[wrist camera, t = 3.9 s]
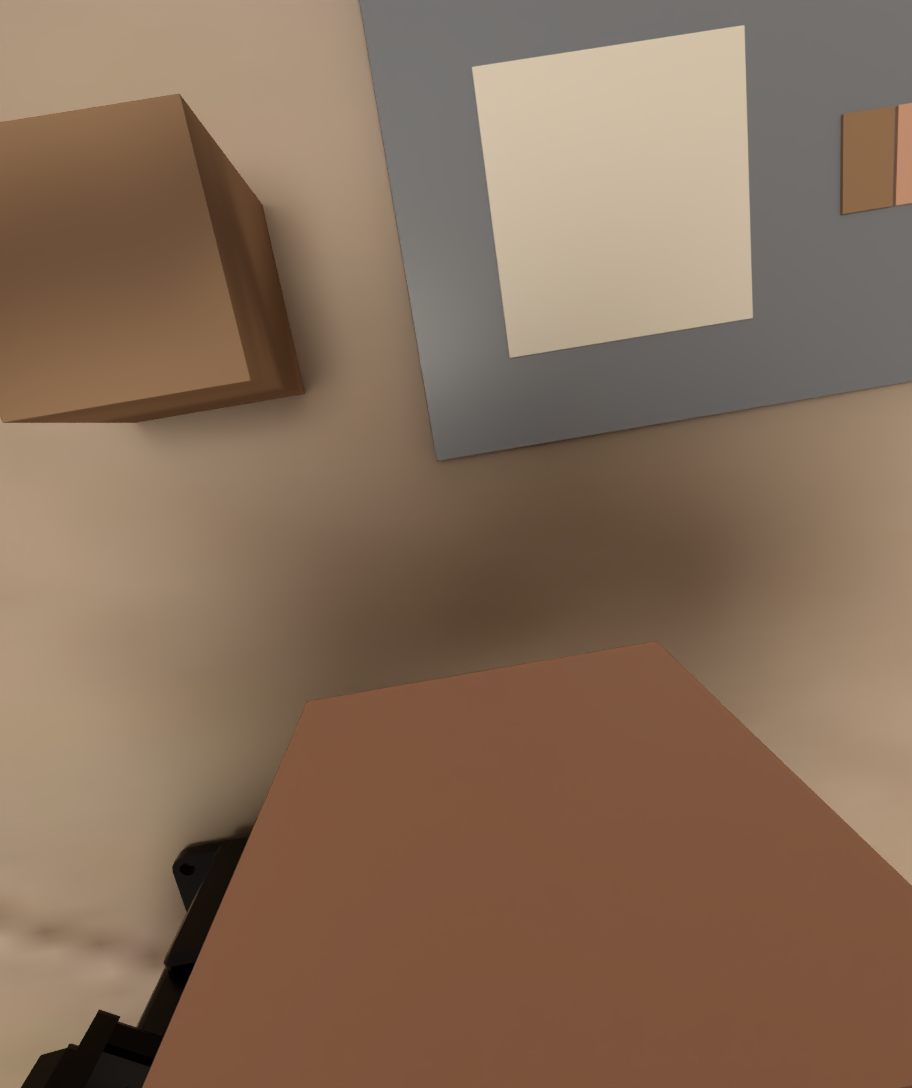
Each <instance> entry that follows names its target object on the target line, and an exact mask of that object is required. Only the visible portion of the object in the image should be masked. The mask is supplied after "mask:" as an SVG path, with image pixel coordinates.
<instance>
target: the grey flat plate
mask: <svg viewBox="0 0 912 1088" xmlns="http://www.w3.org/2000/svg"><path fill="white" fill-rule="evenodd" d="M359 2H360V8H361V14H362V20H363V26H364V31H365V37H366V43H367V49H368V55H369V61H370V67H371V73H372V79H373V85H374V91H375V97H376V103H377V109H378V115H379V121H380V126H381V132H382V138H383V144H384V150H385V156H386V162H387V168H388V174H389V180H390V186H391V192H392V198H393V204H394V210H395V216H396V221H397V227H398V233H399V239H400V245H401V251H402V257H403V263H404V269H405V275H406V281H407V287H408V293H409V299H410V305H411V310H412V316H413V322H414V328H415V334H416V340H417V346H418V352H419V358H420V364H421V370H422V376H423V382H424V388H425V394H426V400H427V405H428V411H429V417H430V423H431V429H432V435H433V441H434V447H435V453H436V459H437V461H440V460H446V459H452V458H458V457H464V456H470V455H476V454H482V453H488V452H494V451H500V450H506V449H512V448H518V447H523V446H529V445H535V444H541V443H547V442H553V441H559V440H565V439H571V438H577V437H583V436H589V435H595V434H601V433H607V432H613V431H619V430H625V429H631V428H637V427H643V426H649V425H655V424H661V423H667V422H673V421H679V420H685V419H691V418H697V417H703V416H709V415H715V414H721V413H726V412H732V411H738V410H744V409H750V408H756V407H762V406H768V405H774V404H780V403H786V402H792V401H798V400H804V399H810V398H816V397H822V396H828V395H834V394H840V393H846V392H852V391H858V390H864V389H870V388H876V387H882V386H888V385H894V384H900V383H906V382H912V0H359Z"/></svg>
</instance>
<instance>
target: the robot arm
mask: <svg viewBox="0 0 912 1088" xmlns="http://www.w3.org/2000/svg"><path fill="white" fill-rule="evenodd" d="M248 839H249V837H248V838H242V839H236V840H231V841H225V842H220V843H214V844H209V845H203V846H197V847H192V848H187V849H185V850H183V851H182V852H181V853H180V854H179V855H178V857H177V859H176V860H175V862H174V864H173V867H172V868H173V874H174V877H175V880H176V882H177V885H178V888H179V891H180V894H181V897H182V900H183V903H184V906H185V909H186V911H187V914H186V916H185V918H184V920H183V922H182V924H181V926H180V928H179V930H178V932H177V934H176V936H175V938H174V940H173V942H172V944H171V946H170V948H169V950H168V952H167V954H166V956H165V960H164V965H165V968H164V971H163V973H162V975H161V977H160V979H159V981H158V983H157V985H156V987H155V989H154V991H153V993H152V996H151V998H150V1000H149V1002H148V1004H147V1006H146V1008H145V1010H144V1012H143V1014H142V1016H141V1018H140V1021H139V1023H138V1025H137V1027H133V1026H130V1025H127V1024H124V1023H122V1022H119V1021H118V1020H119V1018H120V1016H117V1015H114V1014H111V1013H108V1012H105V1011H102V1010H99V1011H98V1013H97V1014H96V1016H95V1018H94V1020H93V1021H92V1023H91V1025H90V1027H89V1029H88V1030H87V1032H86V1034H85V1036H84V1037H83V1039H82V1041H81V1043H80V1044H79V1046H78V1045H75V1044H72V1043H71V1044H69V1045H68V1047H67V1048H65V1049H61V1050H58V1051H54V1052H50V1053H47V1054H43V1055H41V1056H40V1057H39V1059H38V1061H37V1062H36V1064H35V1065H34V1067H33V1069H32V1070H31V1072H30V1074H29V1075H28V1077H27V1079H26V1080H25V1082H24V1084H23V1085H22V1087H21V1088H142V1087H143V1084H144V1082H145V1080H146V1077H147V1075H148V1073H149V1070H150V1068H151V1066H152V1063H153V1061H154V1059H155V1056H156V1054H157V1052H158V1049H159V1047H160V1045H161V1042H162V1040H163V1038H164V1035H165V1033H166V1031H167V1028H168V1026H169V1024H170V1021H171V1019H172V1017H173V1014H174V1012H175V1010H176V1007H177V1005H178V1003H179V1000H180V998H181V996H182V993H183V991H184V989H185V986H186V984H187V982H188V979H189V977H190V975H191V972H192V970H193V968H194V965H195V963H196V961H197V958H198V956H199V954H200V951H201V949H202V947H203V944H204V942H205V940H206V937H207V935H208V933H209V930H210V928H211V926H212V923H213V921H214V919H215V916H216V914H217V912H218V909H219V907H220V905H221V902H222V900H223V897H224V895H225V893H226V890H227V888H228V886H229V883H230V881H231V879H232V876H233V874H234V872H235V869H236V867H237V865H238V862H239V860H240V858H241V855H242V853H243V851H244V848H245V846H246V844H247V841H248ZM187 863H190V864H192V865H193V866H190V865H188V864H187Z"/></svg>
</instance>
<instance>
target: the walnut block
mask: <svg viewBox="0 0 912 1088" xmlns="http://www.w3.org/2000/svg"><path fill="white" fill-rule="evenodd" d="M299 394H305V392H304V388H303V384H302V379H301V375H300V370H299V366H298V361H297V357H296V352H295V348H294V344H293V339H292V335H291V330H290V326H289V321H288V317H287V313H286V308H285V304H284V299H283V295H282V290H281V286H280V282H279V277H278V273H277V268H276V264H275V259H274V255H273V251H272V246H271V242H270V237H269V233H268V228H267V224H266V220H265V215H264V211H263V206H262V204H261V202H260V201H259V200H258V198H257V197H256V196H255V194H254V193H253V192H252V190H251V189H250V188H249V186H248V185H247V184H246V182H245V181H244V180H243V178H242V177H241V176H240V174H239V173H238V172H237V170H236V169H235V168H234V166H233V165H232V164H231V162H230V161H229V159H228V158H227V157H226V155H225V154H224V153H223V151H222V150H221V149H220V147H219V146H218V145H217V143H216V142H215V141H214V139H213V138H212V137H211V135H210V134H209V133H208V131H207V130H206V129H205V127H204V126H203V125H202V123H201V122H200V121H199V119H198V118H197V117H196V115H195V114H194V113H193V111H192V110H191V109H190V107H189V106H188V105H187V103H186V102H185V101H184V99H183V98H182V97H181V95H180V94H174V95H168V96H162V97H156V98H149V99H143V100H137V101H131V102H124V103H118V104H112V105H106V106H99V107H93V108H87V109H81V110H74V111H68V112H62V113H56V114H49V115H43V116H37V117H31V118H24V119H18V120H12V121H6V122H0V416H1V419H2V422H3V423H135V422H141V421H147V420H153V419H159V418H164V417H170V416H176V415H182V414H188V413H194V412H199V411H205V410H211V409H217V408H223V407H229V406H235V405H240V404H246V403H252V402H258V401H264V400H270V399H276V398H281V397H287V396H293V395H299Z"/></svg>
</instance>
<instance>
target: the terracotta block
mask: <svg viewBox="0 0 912 1088" xmlns="http://www.w3.org/2000/svg"><path fill="white" fill-rule="evenodd" d="M142 1088H912V886H911V885H910V884H909V883H908V882H907V881H906V880H905V879H904V878H903V877H902V876H901V875H900V874H899V873H898V872H897V871H896V870H895V869H894V868H893V867H892V866H891V865H890V864H888V863H887V862H886V861H885V860H884V859H883V858H882V857H881V856H880V855H879V854H878V853H877V852H876V851H875V850H874V849H873V848H872V847H871V846H870V845H869V844H868V843H867V842H866V841H864V840H863V839H862V838H861V837H860V836H859V835H858V834H857V833H856V832H855V831H854V830H853V829H852V828H851V827H850V826H849V825H848V824H847V823H846V822H845V821H844V820H843V819H841V818H840V817H839V816H838V815H837V814H836V813H835V812H834V811H833V810H832V809H831V808H830V807H829V806H828V805H827V804H826V803H825V802H824V801H823V800H822V799H821V798H820V797H819V796H817V795H816V794H815V793H814V792H813V791H812V790H811V789H810V788H809V787H808V786H807V785H806V784H805V783H804V782H803V781H802V780H801V779H800V778H799V777H798V776H797V775H796V774H795V773H793V772H792V771H791V770H790V769H789V768H788V767H787V766H786V765H785V764H784V763H783V762H782V761H781V760H780V759H779V758H778V757H777V756H776V755H775V754H774V753H773V752H772V751H770V750H769V749H768V748H767V747H766V746H765V745H764V744H763V743H762V742H761V741H760V740H759V739H758V738H757V737H756V736H755V735H754V734H753V733H752V732H751V731H750V730H749V729H748V728H746V727H745V726H744V725H743V724H742V723H741V722H740V721H739V720H738V719H737V718H736V717H735V716H734V715H733V714H732V713H731V712H730V711H729V710H728V709H727V708H726V707H725V706H723V705H722V704H721V703H720V702H719V701H718V700H717V699H716V698H715V697H714V696H713V695H712V694H711V693H710V692H709V691H708V690H707V689H706V688H705V687H704V686H703V685H702V684H701V683H699V682H698V681H697V680H696V679H695V678H694V677H693V676H692V675H691V674H690V673H689V672H688V671H687V670H686V669H685V668H684V667H683V666H682V665H681V664H680V663H679V662H678V661H677V660H675V659H674V658H673V657H672V656H671V655H670V654H669V653H668V652H667V651H666V650H665V649H664V648H663V647H662V646H661V645H660V644H659V643H658V642H657V641H654V642H648V643H643V644H637V645H631V646H625V647H619V648H614V649H608V650H602V651H596V652H591V653H585V654H579V655H573V656H567V657H562V658H556V659H550V660H544V661H539V662H533V663H527V664H521V665H515V666H510V667H504V668H498V669H492V670H487V671H481V672H475V673H469V674H463V675H458V676H452V677H446V678H440V679H435V680H429V681H423V682H417V683H411V684H406V685H400V686H394V687H388V688H383V689H377V690H371V691H365V692H359V693H354V694H348V695H342V696H336V697H331V698H325V699H319V700H313V701H307V704H306V706H305V708H304V711H303V713H302V715H301V718H300V720H299V722H298V725H297V727H296V729H295V732H294V734H293V736H292V739H291V741H290V743H289V746H288V748H287V750H286V753H285V755H284V757H283V760H282V762H281V764H280V767H279V769H278V771H277V774H276V776H275V778H274V781H273V783H272V785H271V788H270V790H269V792H268V795H267V797H266V799H265V802H264V804H263V806H262V809H261V811H260V813H259V816H258V818H257V820H256V823H255V825H254V827H253V830H252V832H251V834H250V837H249V839H248V841H247V844H246V846H245V848H244V851H243V853H242V855H241V858H240V860H239V862H238V865H237V867H236V869H235V872H234V874H233V876H232V879H231V881H230V883H229V886H228V888H227V890H226V893H225V895H224V897H223V900H222V902H221V905H220V907H219V909H218V912H217V914H216V916H215V919H214V921H213V923H212V926H211V928H210V930H209V933H208V935H207V937H206V940H205V942H204V944H203V947H202V949H201V951H200V954H199V956H198V958H197V961H196V963H195V965H194V968H193V970H192V972H191V975H190V977H189V979H188V982H187V984H186V986H185V989H184V991H183V993H182V996H181V998H180V1000H179V1003H178V1005H177V1007H176V1010H175V1012H174V1014H173V1017H172V1019H171V1021H170V1024H169V1026H168V1028H167V1031H166V1033H165V1035H164V1038H163V1040H162V1042H161V1045H160V1047H159V1049H158V1052H157V1054H156V1056H155V1059H154V1061H153V1063H152V1066H151V1068H150V1070H149V1073H148V1075H147V1077H146V1080H145V1082H144V1084H143V1087H142Z"/></svg>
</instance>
